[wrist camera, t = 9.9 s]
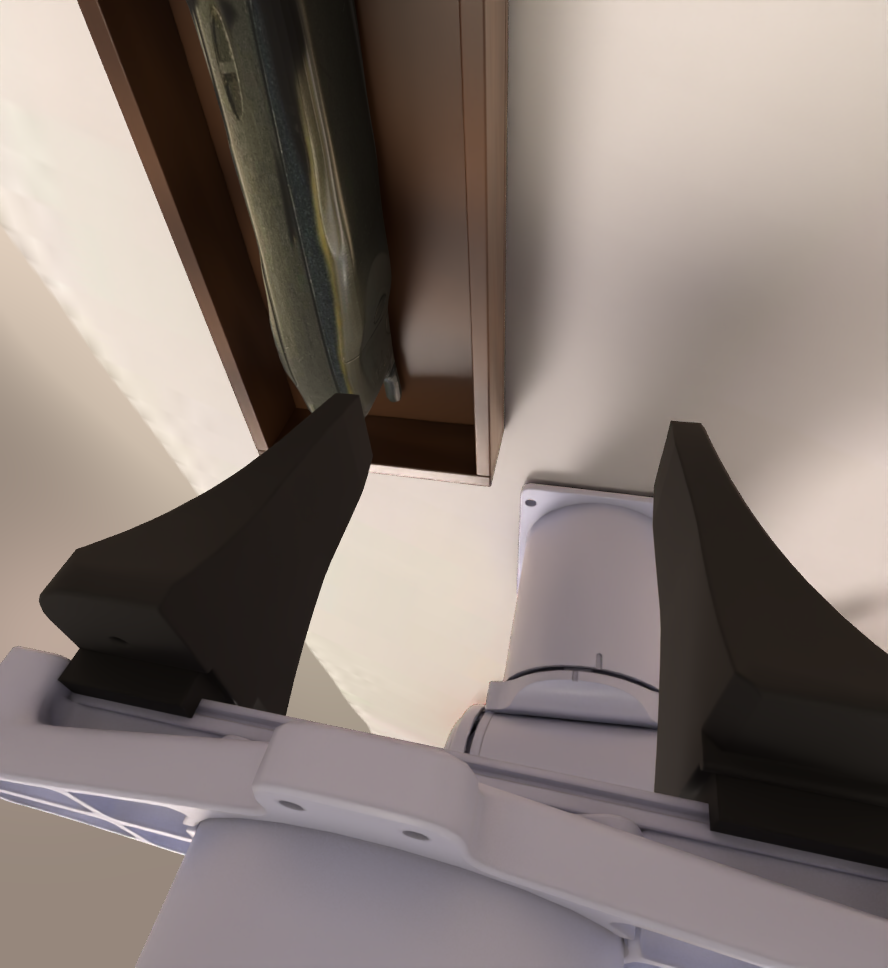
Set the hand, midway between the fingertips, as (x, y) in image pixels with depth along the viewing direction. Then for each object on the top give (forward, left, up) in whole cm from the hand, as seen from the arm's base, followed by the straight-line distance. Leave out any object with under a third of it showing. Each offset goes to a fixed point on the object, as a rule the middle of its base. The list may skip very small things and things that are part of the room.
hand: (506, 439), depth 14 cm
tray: (+2, +7, -9) cm, 11 cm away
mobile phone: (+2, +7, -9) cm, 11 cm away
